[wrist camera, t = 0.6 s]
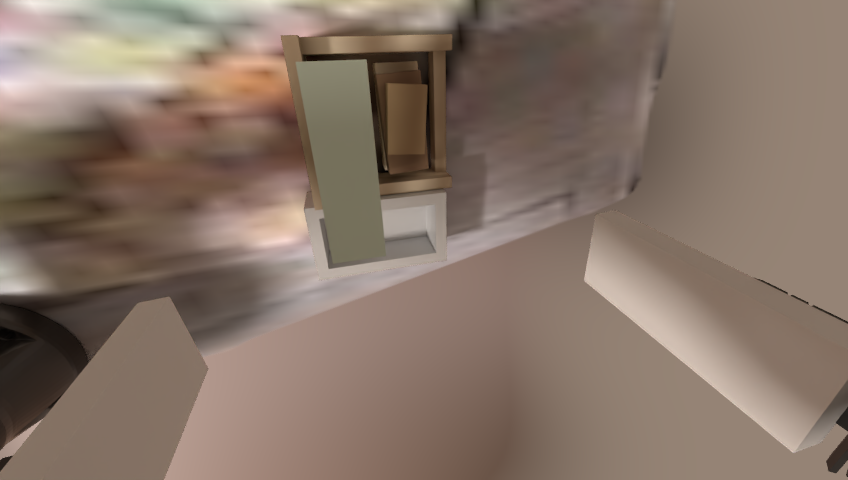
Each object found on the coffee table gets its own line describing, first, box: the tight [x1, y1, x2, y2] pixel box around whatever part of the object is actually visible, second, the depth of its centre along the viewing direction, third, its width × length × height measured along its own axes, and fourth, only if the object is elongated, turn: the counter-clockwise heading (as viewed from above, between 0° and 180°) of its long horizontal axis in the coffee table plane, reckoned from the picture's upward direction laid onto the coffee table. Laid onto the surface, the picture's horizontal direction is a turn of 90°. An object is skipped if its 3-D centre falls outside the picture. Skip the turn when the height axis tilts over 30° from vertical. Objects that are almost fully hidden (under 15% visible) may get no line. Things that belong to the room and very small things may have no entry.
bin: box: [304, 189, 447, 280], centre depth 38 cm, size 14×8×5 cm, turn 92°
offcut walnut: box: [374, 70, 429, 175], centre depth 33 cm, size 4×9×2 cm, turn 5°
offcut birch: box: [372, 61, 418, 170], centre depth 35 cm, size 4×10×2 cm, turn 2°
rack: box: [281, 34, 452, 210], centre depth 32 cm, size 14×14×6 cm
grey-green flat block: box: [296, 59, 386, 264], centre depth 26 cm, size 3×10×20 cm, turn 2°
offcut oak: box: [385, 83, 427, 155], centre depth 31 cm, size 4×6×2 cm, turn 177°
